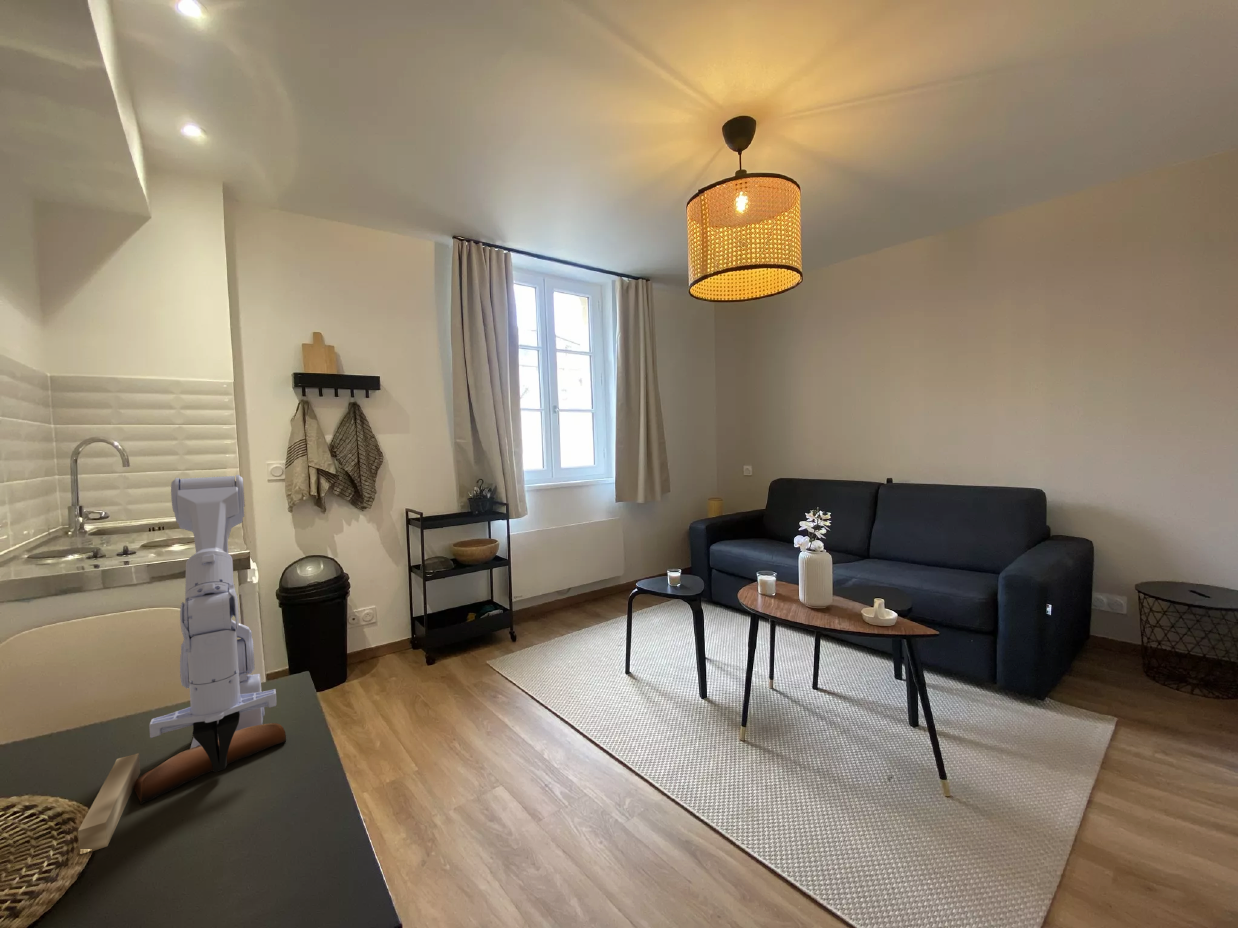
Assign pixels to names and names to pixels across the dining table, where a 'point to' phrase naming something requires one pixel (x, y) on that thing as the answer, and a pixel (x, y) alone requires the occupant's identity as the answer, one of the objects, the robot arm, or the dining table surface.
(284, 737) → the sunglasses case
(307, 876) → the dining table surface
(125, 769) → the bar
